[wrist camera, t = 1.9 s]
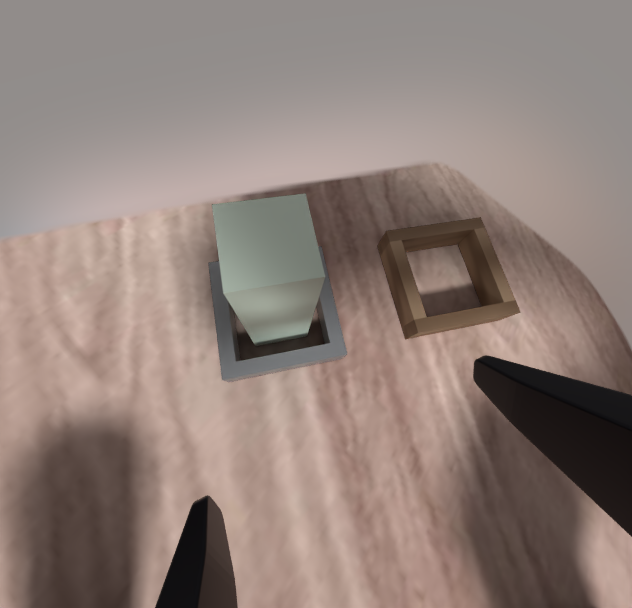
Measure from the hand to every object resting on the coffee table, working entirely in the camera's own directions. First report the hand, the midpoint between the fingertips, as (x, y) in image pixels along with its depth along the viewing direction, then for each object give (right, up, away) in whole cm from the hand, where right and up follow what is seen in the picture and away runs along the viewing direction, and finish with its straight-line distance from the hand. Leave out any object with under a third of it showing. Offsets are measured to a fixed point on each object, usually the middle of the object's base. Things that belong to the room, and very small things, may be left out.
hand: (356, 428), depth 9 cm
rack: (+9, +6, +17) cm, 20 cm away
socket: (-4, +3, +15) cm, 15 cm away
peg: (-4, +3, +15) cm, 15 cm away
